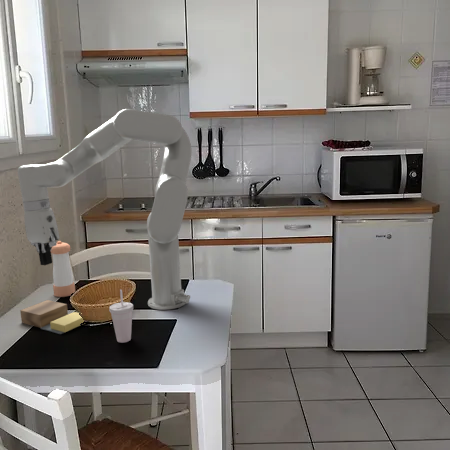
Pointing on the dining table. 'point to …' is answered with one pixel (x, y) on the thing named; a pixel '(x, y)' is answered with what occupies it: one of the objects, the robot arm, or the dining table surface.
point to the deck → (43, 313)
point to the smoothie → (122, 319)
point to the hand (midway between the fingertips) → (46, 263)
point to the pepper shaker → (62, 270)
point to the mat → (48, 328)
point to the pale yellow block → (67, 322)
